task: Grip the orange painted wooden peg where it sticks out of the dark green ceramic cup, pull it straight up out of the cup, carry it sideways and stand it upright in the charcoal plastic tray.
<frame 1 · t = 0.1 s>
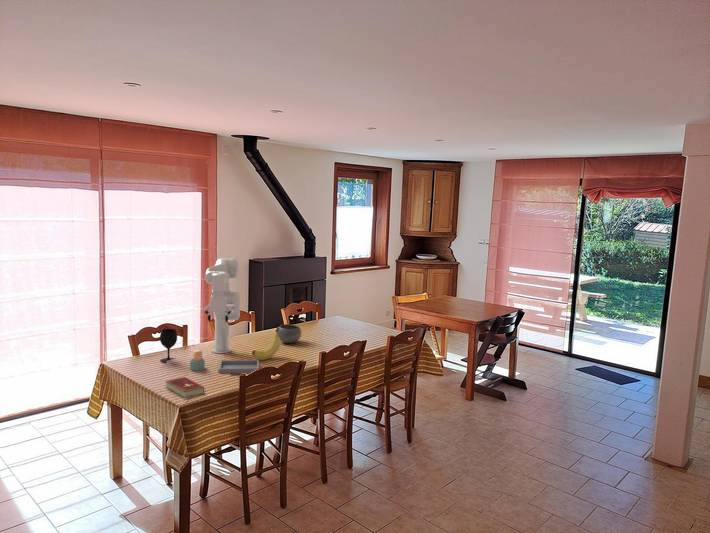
hand: (217, 321, 324), 31 cm above the table, tool pointing down, fingers open, 9 cm apart
banana: (265, 359, 359), on the table
bowl: (289, 343, 402), on the table
tray: (239, 369, 333), on the table
peg: (197, 368, 328), point 1 cm above the table, touching cup
wine glass: (168, 361, 344), on the table
cup: (197, 370, 329), on the table
hardcover book: (184, 390, 294), on the table
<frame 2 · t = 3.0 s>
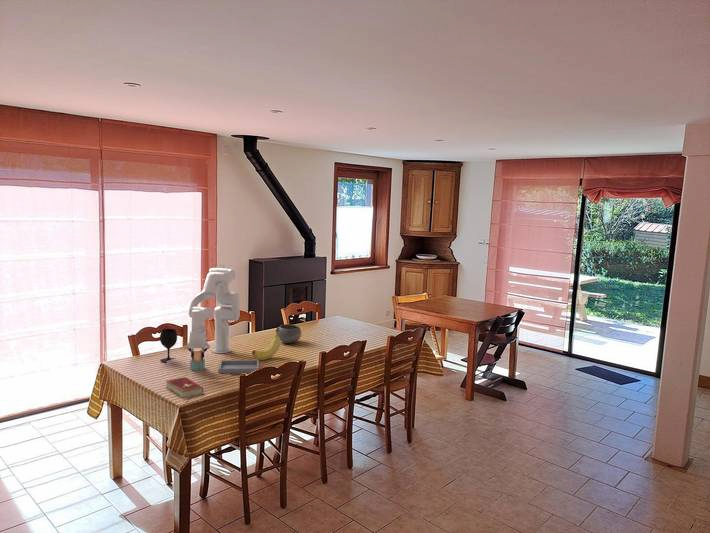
hand: (197, 358, 328), 7 cm above the table, tool pointing down, fingers closed on peg, 5 cm apart
peg: (197, 368, 328), point 1 cm above the table, touching cup, gripper
everything else where it was.
when the fingers open (9 cm above the table, at t = 10.5 s): peg drops 1 cm, resting on tray.
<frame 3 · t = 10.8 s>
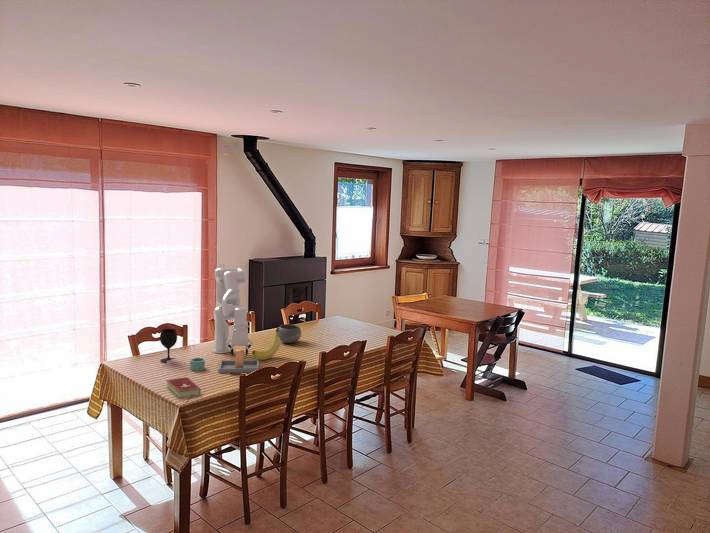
hand: (239, 354, 332), 9 cm above the table, tool pointing down, fingers open, 7 cm apart
peg: (239, 367, 333), point 1 cm above the table, touching tray
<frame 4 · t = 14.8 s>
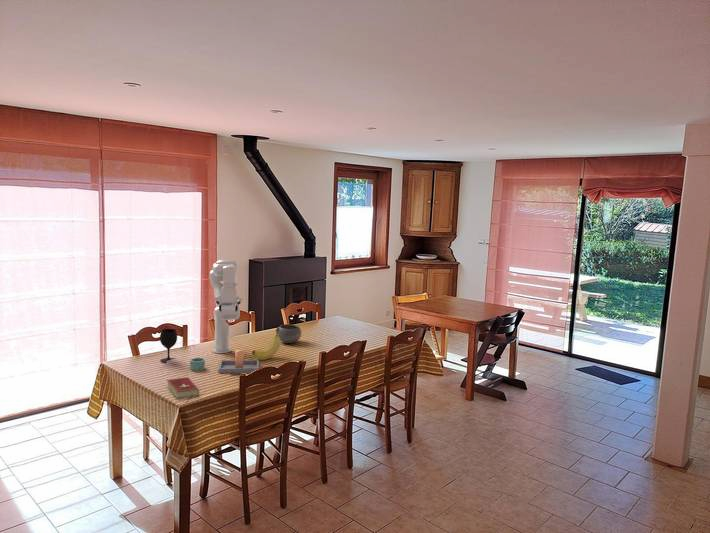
hand: (228, 311, 344), 33 cm above the table, tool pointing down, fingers open, 9 cm apart
at the end: peg inside the target area on the tray (0.0 cm from its centre), point 1.0 cm above the tray's base; peg tilted 0°; the gripper is holding nothing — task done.
